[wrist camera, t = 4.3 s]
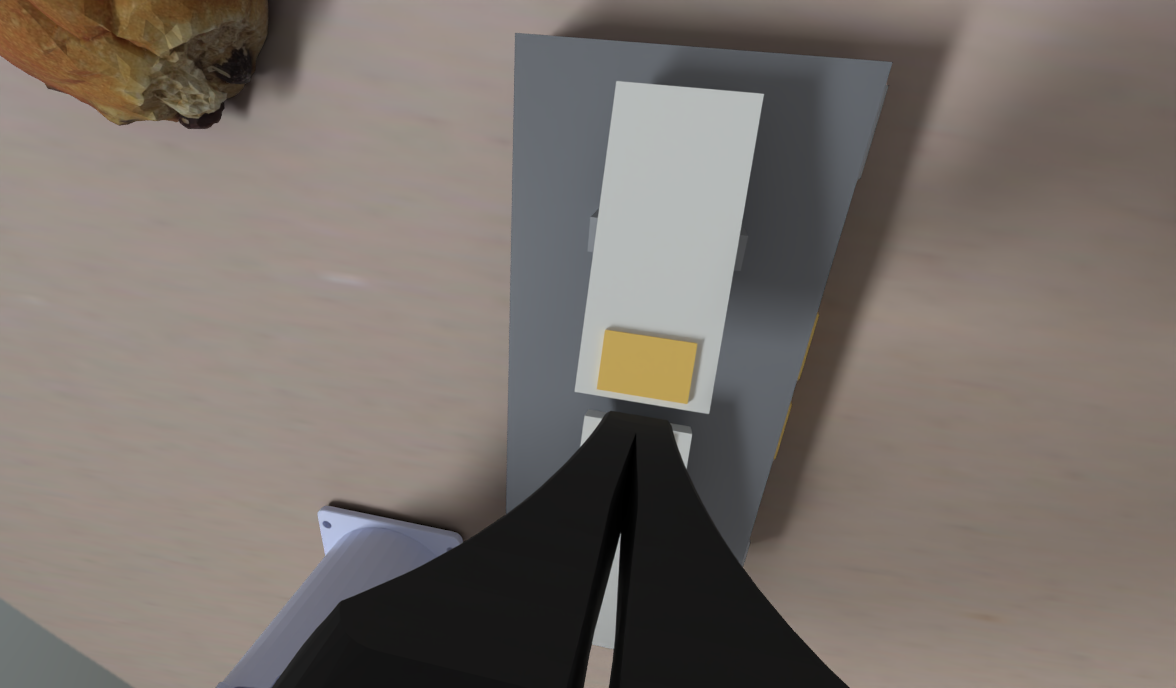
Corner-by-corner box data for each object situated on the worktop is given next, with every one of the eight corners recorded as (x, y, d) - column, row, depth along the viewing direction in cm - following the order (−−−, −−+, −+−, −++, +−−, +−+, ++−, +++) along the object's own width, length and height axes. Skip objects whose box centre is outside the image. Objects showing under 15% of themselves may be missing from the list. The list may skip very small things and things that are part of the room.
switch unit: (731, 553, 24) (739, 632, 20) (521, 511, 25) (493, 578, 21) (869, 70, 15) (925, 56, 12) (538, 43, 16) (497, 24, 13)
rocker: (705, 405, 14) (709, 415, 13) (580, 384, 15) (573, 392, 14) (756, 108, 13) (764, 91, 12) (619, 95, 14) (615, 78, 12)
